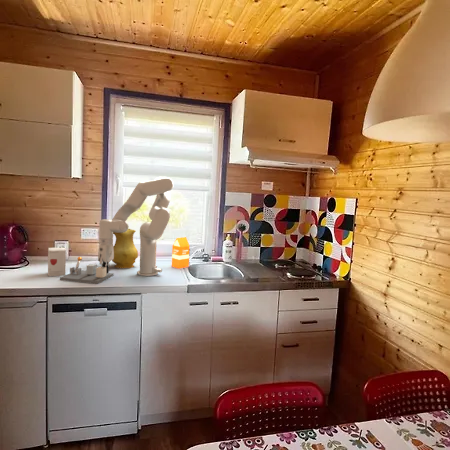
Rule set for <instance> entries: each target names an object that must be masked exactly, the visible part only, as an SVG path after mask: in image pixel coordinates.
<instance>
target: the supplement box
mask: <svg viewBox="0 0 450 450" xmlns="http://www.w3.org/2000/svg"><path fill="white" fill-rule="evenodd" d="M47 248H48V249H47V276H48V277H59V276H60V277H62V276H65V275H67V274H66V267H67V266H66V264H67V261H66V260H67V259H66V258H67V250H66V248H65V247H47Z"/></svg>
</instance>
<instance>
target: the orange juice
mask: <svg viewBox="0 0 450 450" xmlns="http://www.w3.org/2000/svg"><path fill="white" fill-rule="evenodd" d="M171 247H172V249H171V250H172V251H171V267H173V268H175V269H182V268H189V265H190V244H189V241H188V238H187V236H184V237H176V239H175V240H174V242H173V243H172V246H171Z"/></svg>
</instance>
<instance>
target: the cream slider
mask: <svg viewBox="0 0 450 450" xmlns="http://www.w3.org/2000/svg"><path fill="white" fill-rule="evenodd" d="M106 273H107V267H102V266H97V268H96V277H101V278H103V277H105V276H106Z"/></svg>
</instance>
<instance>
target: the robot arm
mask: <svg viewBox="0 0 450 450" xmlns="http://www.w3.org/2000/svg"><path fill="white" fill-rule="evenodd" d="M173 188H174V181H173V179H172V178H171V177H167V176H158V177H156V178H155V179H154V180H144V181H139V182H138V183H137V184H136V186H135V188H134V189H133V190H132V192H131V193H130V195H129V197H128V198H127V200H126V201H125V202H124V203H123V205H121V207H120V208H119V209H118V210H117V212H116V213H115V214H114V215H113V218H112V219H110V218H109V219H107V218H104V219H100V220H99V223H98V224H99V225H98V226H99V231H98V244H99V245H98V251H97V261H98V262H99V265H101V267H107V273H109V267H110V262H112V260H113V259H114V234H113V232H117V233H124V232H126V231H127V230H128V229H129V223H128V222H127V220H128V219H129V217H130V216H131V215H133V214H134V213H136V212H137V211H139V210H140V209H141V207H142V206H143V204H144V203H145V201H146V199H147V198H148V197H151V196H152V197H153V196H156V197H155V200H154V202H153V204H152V206H151V208H150V210H149V213H148V217H149V219H150V220H151V221H147V222H144V223H142V224H141V226H140V227H139V239H140V249H139V270H137V271H136V274H137V275H138V276H142V277H153V276H157V275H158V274H159V273H162V271H163V269H162V268H158V265H157V264H156V263H157V240H160V238H161V237H162V236H163V234H164V232H165V230H166V227H167V225H168V223H169V220H170V218H171V215H170V214H171V213H170V211H169V210H168V207H169V204H170V201H171V190H172V189H173ZM107 273H106V274H107Z"/></svg>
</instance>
